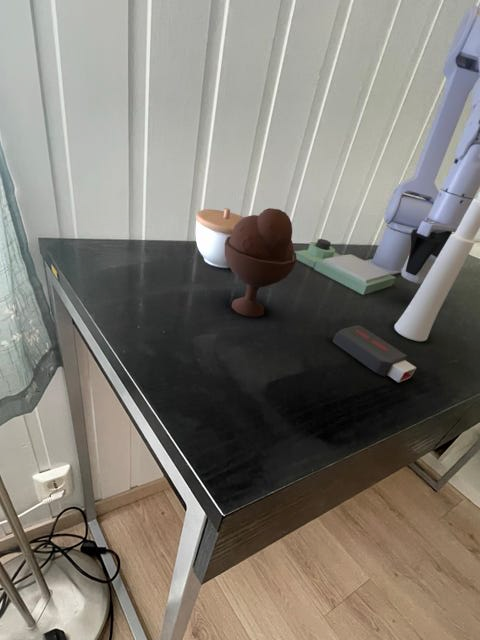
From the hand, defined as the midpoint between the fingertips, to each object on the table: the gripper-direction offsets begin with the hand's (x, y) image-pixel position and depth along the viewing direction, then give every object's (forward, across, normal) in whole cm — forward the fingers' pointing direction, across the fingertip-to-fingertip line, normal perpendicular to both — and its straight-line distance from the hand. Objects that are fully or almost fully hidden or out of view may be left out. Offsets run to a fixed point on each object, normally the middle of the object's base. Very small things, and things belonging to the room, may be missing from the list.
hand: (417, 271), depth 75 cm
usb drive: (+6, -29, -9) cm, 31 cm away
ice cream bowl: (+6, -36, +11) cm, 38 cm away
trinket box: (+6, -27, +28) cm, 39 cm away
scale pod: (+6, -1, +22) cm, 23 cm away
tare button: (+4, -1, +22) cm, 22 cm away
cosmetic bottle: (+6, -13, -8) cm, 17 cm away
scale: (+6, -1, +12) cm, 13 cm away
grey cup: (+1, 0, 0) cm, 1 cm away
